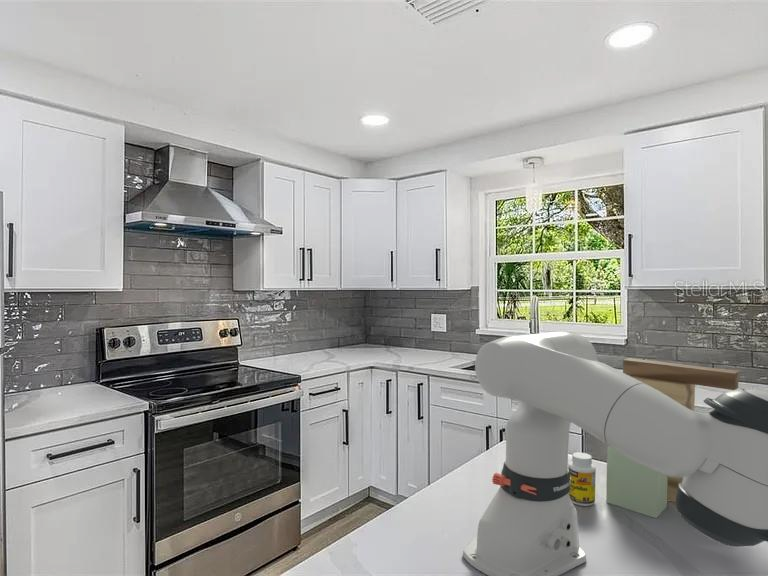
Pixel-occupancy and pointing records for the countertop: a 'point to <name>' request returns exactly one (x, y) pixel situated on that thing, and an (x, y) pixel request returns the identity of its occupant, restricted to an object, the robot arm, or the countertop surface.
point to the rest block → (635, 485)
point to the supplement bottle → (582, 479)
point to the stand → (685, 397)
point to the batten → (682, 373)
